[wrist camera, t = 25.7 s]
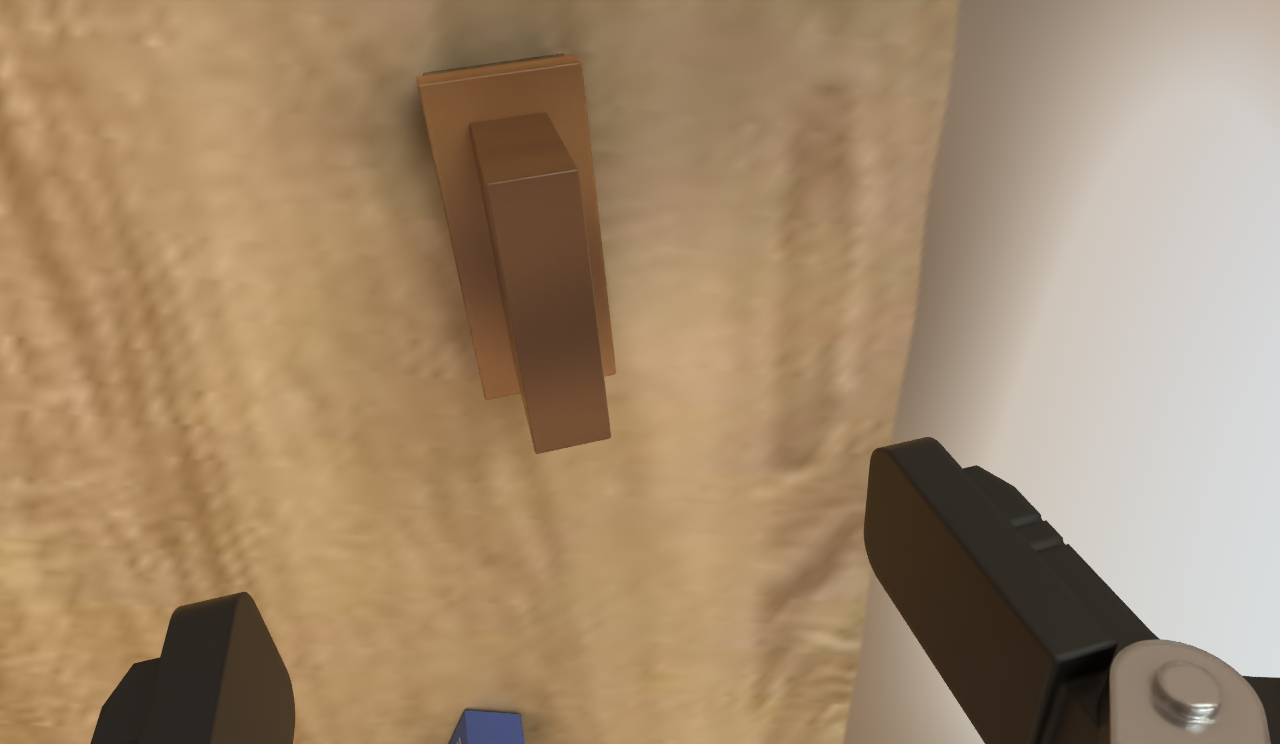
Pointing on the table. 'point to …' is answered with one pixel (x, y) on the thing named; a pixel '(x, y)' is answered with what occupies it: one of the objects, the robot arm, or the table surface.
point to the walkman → (488, 728)
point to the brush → (527, 237)
